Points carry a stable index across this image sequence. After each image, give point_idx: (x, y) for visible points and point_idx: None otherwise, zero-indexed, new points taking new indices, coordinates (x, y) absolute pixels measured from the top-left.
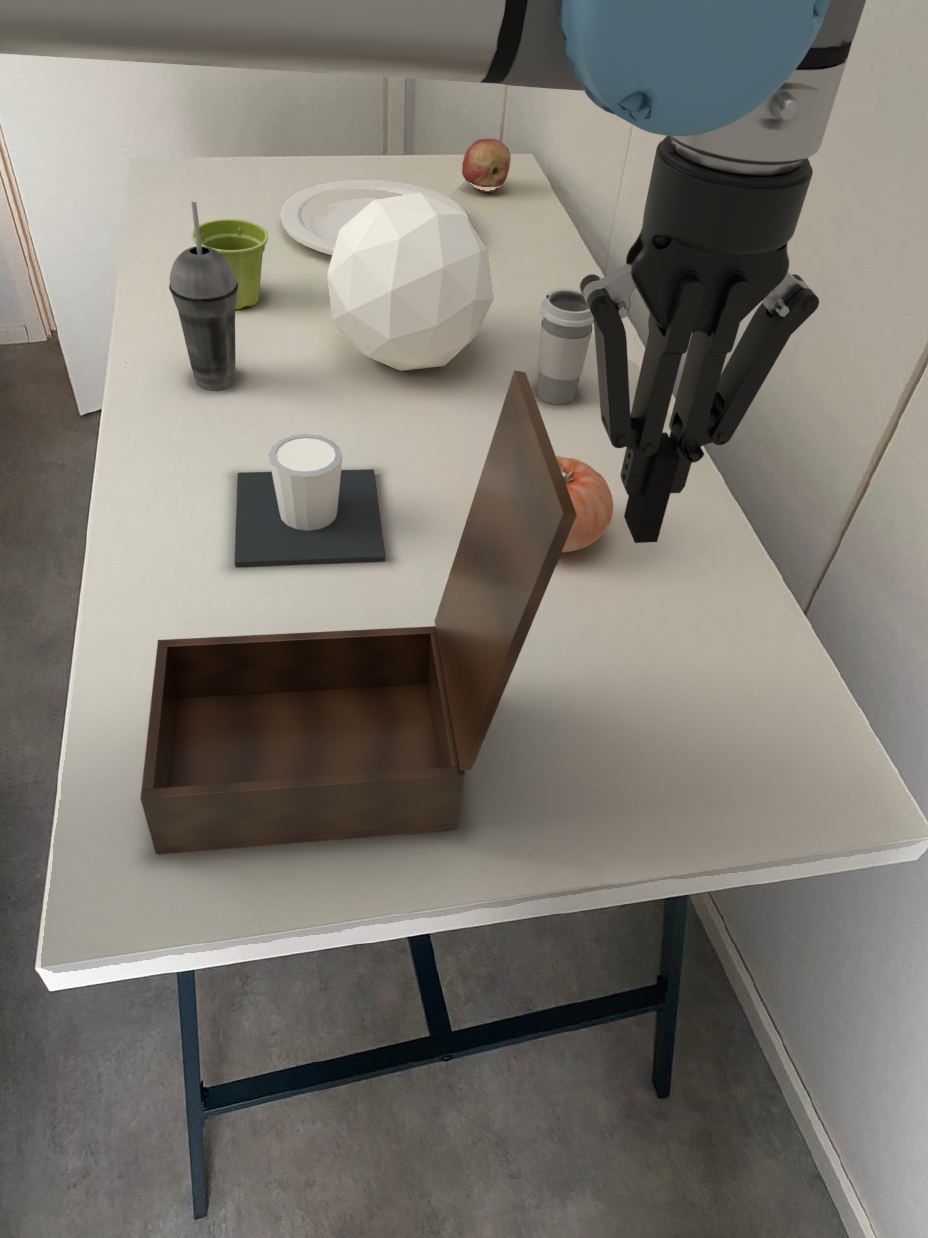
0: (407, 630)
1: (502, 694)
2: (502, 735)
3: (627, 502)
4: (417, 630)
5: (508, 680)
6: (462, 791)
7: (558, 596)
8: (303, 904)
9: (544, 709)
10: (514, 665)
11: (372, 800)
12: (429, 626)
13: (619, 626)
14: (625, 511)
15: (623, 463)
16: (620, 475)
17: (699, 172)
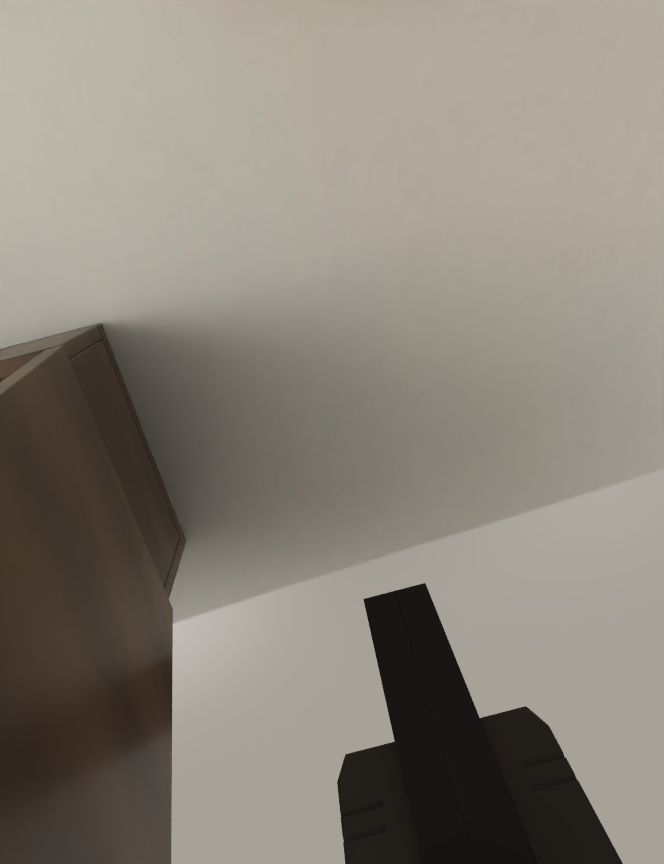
0: (6, 366)
1: (171, 722)
2: (217, 400)
3: (371, 633)
4: (23, 365)
5: (171, 749)
6: (172, 585)
7: (277, 67)
8: None
9: (271, 345)
10: (171, 780)
11: None
12: (41, 350)
13: (386, 136)
14: (367, 612)
15: (344, 837)
16: (338, 781)
17: None
